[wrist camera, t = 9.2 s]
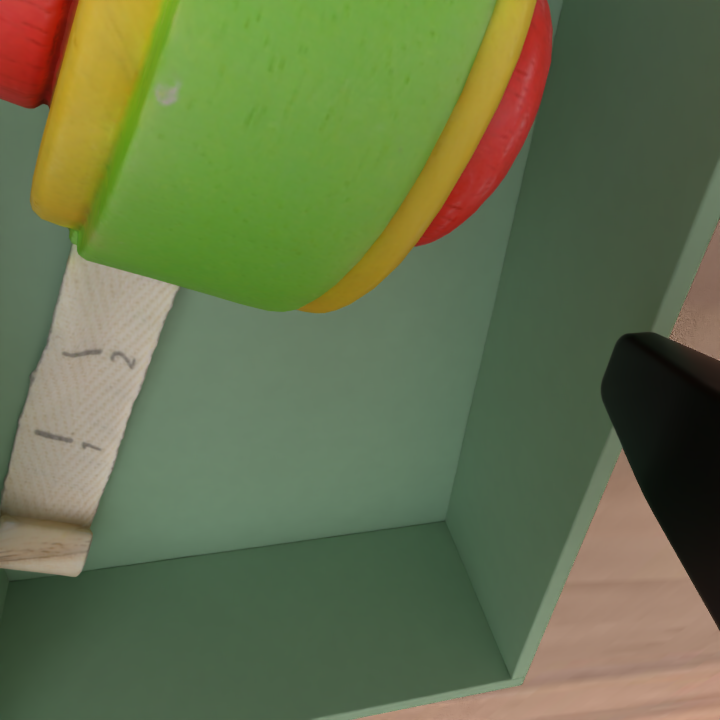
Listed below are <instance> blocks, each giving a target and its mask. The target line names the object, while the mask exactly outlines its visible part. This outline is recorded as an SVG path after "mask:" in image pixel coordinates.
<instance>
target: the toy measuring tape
mask: <svg viewBox="0 0 720 720" xmlns="http://www.w3.org/2000/svg"><path fill="white" fill-rule="evenodd" d="M552 35H553V27H552V21H551V15H550V8H549V5H548V2H547V0H0V99H2V100H5V101H8V102H10V103H13V104H16V105H19V106H21V107H24V108H29V109H35V108H36V107H38V106H40V105H42V104H45V105H48V107H49V109H50V111H49V114H48V118H47V122H46V125H45V129H44V133H43V137H42V140H41V144H40V148H39V153H38V157H37V162H36V166H35V170H34V175H33V179H32V187H31V195H30V203H31V207H32V210H33V211H34V212H35V213H36V214H37V215H38V216H39V217H40V218H41V219H43V220H46V221H48V222H51V223H54V224H56V225H59V226H63V227H66V228H68V229H69V239H70V241H71V243H72V245H71V248H70V253H69V256H68V260H67V264H66V269H65V273H64V274H63V280H62V283H61V286H60V289H59V295H58V299H57V303H56V305H55V308H54V312H53V317H52V323H51V326H50V330H49V334H48V338H47V345H46V347H45V348H44V350H43V352H42V355H41V358H40V360H39V362H38V364H37V368H36V369H35V370H34V371H33V372H32V373H31V375H30V376H29V379H30V385H29V390H28V394H27V398H26V401H25V404H24V407H23V411H22V413H21V415H20V417H19V420H18V427H17V430H16V434H15V438H14V443H13V448H12V452H11V458H10V462H9V465H8V473H7V475H6V477H5V478H4V488H3V489H2V491H1V495H2V496H1V504H0V568H5V569H13V570H21V571H30V572H39V573H47V574H55V575H63V576H70V577H77V576H78V575H79V574H80V573H81V571H82V569H83V567H84V565H85V562H86V559H87V556H88V553H89V549H90V546H91V543H92V537H93V533H92V531H91V530H90V526H91V524H92V521H93V519H94V516H95V514H96V512H97V509H98V506H99V502H100V498H101V496H102V494H103V492H104V490H105V487H106V484H107V482H108V480H109V477H110V475H111V473H112V471H113V468H114V465H115V462H116V458H117V455H118V448H119V446H120V443H121V440H122V439H123V438H124V433H125V430H126V426H127V422H128V420H129V417H130V415H131V411H132V407H133V404H134V401H135V400H136V398H137V396H138V394H139V392H140V390H141V387H142V384H143V382H144V379H145V377H146V374H147V370H148V367H149V364H150V362H151V359H152V355H153V352H154V350H155V349H156V347H157V344H158V341H159V337H160V333H161V331H162V328H163V326H164V323H165V320H166V318H167V315H168V313H169V311H170V310H171V308H172V307H173V303H174V299H175V296H176V294H177V292H178V291H179V290H180V288H181V287H184V288H187V289H191V290H194V291H198V292H201V293H205V294H208V295H211V296H215V297H218V298H222V299H225V300H228V301H232V302H235V303H238V304H242V305H246V306H250V307H254V308H258V309H262V310H266V311H275V312H286V311H292V310H299V311H303V312H309V313H327V312H331V311H335V310H338V309H340V308H343V307H345V306H348V305H350V304H351V303H353V302H355V301H356V300H358V299H359V298H361V297H362V296H364V295H365V294H367V293H368V292H370V291H371V290H373V289H374V288H375V287H376V286H377V285H378V284H380V283H381V282H382V281H383V280H384V279H385V278H386V277H387V276H388V275H389V274H390V273H391V272H392V271H393V270H394V269H395V268H396V267H397V266H398V265H399V264H400V263H401V262H402V261H403V260H404V258H405V257H406V256H407V255H408V253H409V252H410V251H411V250H412V248H413V247H417V246H421V245H426V244H429V243H431V242H434V241H436V240H438V239H440V238H442V237H443V236H445V235H447V234H449V233H450V232H452V231H453V230H454V229H455V228H457V227H458V226H459V225H461V224H462V223H463V222H464V221H466V220H467V219H468V218H469V217H470V216H471V215H472V214H474V213H475V212H476V211H477V210H478V209H479V207H480V206H481V205H482V204H483V203H484V202H485V200H486V199H487V198H488V197H489V196H490V195H491V194H492V193H493V192H494V191H495V190H496V188H497V187H498V186H499V184H500V183H501V182H502V180H503V179H504V178H505V176H506V175H507V173H508V171H509V170H510V168H511V166H512V164H513V162H514V161H515V159H516V157H517V155H518V154H519V152H520V150H521V148H522V146H523V144H524V142H525V140H526V138H527V136H528V133H529V131H530V129H531V127H532V124H533V122H534V120H535V117H536V114H537V112H538V109H539V106H540V104H541V100H542V96H543V92H544V88H545V84H546V80H547V76H548V72H549V68H550V64H551V55H552Z"/></svg>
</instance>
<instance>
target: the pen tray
mask: <svg viewBox="0 0 720 720" xmlns="http://www.w3.org/2000/svg"><path fill="white" fill-rule="evenodd" d="M547 2H548V5H549V8H550V15H551V21H552V27H553V35H552V55H551V64H550V68H549V72H548V76H547V80H546V84H545V88H544V92H543V96H542V100H541V104H540V106H539V109H538V112H537V114H536V117H535V120H534V122H533V124H532V127H531V129H530V131H529V133H528V136H527V138H526V140H525V142H524V144H523V146H522V148H521V150H520V152H519V154H518V155H517V157H516V159H515V161H514V162H513V164H512V166H511V168H510V170H509V171H508V173H507V175H506V176H505V178H504V179H503V180H502V182H501V183H500V184H499V186H498V187H497V188H496V190H495V191H494V192H493V193H492V194H491V195H490V196H489V197H488V198H487V199H486V200H485V202H484V203H483V204H482V205H481V206H480V207H479V209H478V210H477V211H476V212H475V213H474V214H472V215H471V216H470V217H469V218H468V219H467V220H466V221H464V222H463V223H462V224H461V225H459V226H458V227H457V228H455V229H454V230H453V231H452V232H450V233H449V234H447V235H445V236H443V237H442V238H440V239H438V240H436V241H434V242H431V243H429V244H426V245H421V246H417V247H413V248H412V250H411V251H410V252H409V253H408V255H407V256H406V257H405V258H404V260H403V261H402V262H401V263H400V264H399V265H398V266H397V267H396V268H395V269H394V270H393V271H392V272H391V273H390V274H389V275H388V276H387V277H386V278H385V279H384V280H383V281H382V282H381V283H380V284H378V285H377V286H376V287H375V288H374V289H373V290H371V291H370V292H368V293H367V294H365V295H364V296H362V297H361V298H359V299H358V300H356V301H355V302H353V303H351V304H350V305H348V306H345V307H343V308H340V309H338V310H335V311H331V312H327V313H309V312H303V311H299V310H292V311H286V312H275V311H266V310H262V309H258V308H254V307H250V306H246V305H242V304H238V303H235V302H232V301H228V300H225V299H222V298H218V297H215V296H211V295H208V294H205V293H201V292H198V291H194V290H191V289H187V288H184V287H181V288H180V290H179V291H178V292H177V294H176V296H175V299H174V303H173V307H172V308H171V310H170V311H169V313H168V315H167V318H166V320H165V323H164V326H163V328H162V331H161V333H160V337H159V341H158V344H157V347H156V349H155V350H154V352H153V355H152V359H151V362H150V364H149V367H148V370H147V374H146V377H145V379H144V382H143V384H142V387H141V390H140V392H139V394H138V396H137V398H136V400H135V401H134V404H133V407H132V411H131V415H130V417H129V420H128V422H127V426H126V430H125V433H124V438H123V439H122V440H121V443H120V446H119V448H118V455H117V458H116V462H115V465H114V468H113V471H112V473H111V475H110V477H109V480H108V482H107V484H106V487H105V490H104V492H103V494H102V496H101V498H100V502H99V506H98V509H97V512H96V514H95V516H94V519H93V521H92V524H91V526H90V530H91V531H92V533H93V537H92V543H91V546H90V549H89V553H88V556H87V559H86V562H85V565H84V567H83V569H82V571H81V573H80V574H79V575H78V576H77V577H70V576H63V575H55V574H47V573H39V572H30V571H21V570H13V569H5V568H0V720H352V719H357V718H362V717H367V716H372V715H377V714H382V713H386V712H391V711H396V710H401V709H406V708H411V707H416V706H421V705H426V704H431V703H436V702H440V701H445V700H450V699H455V698H460V697H465V696H470V695H475V694H480V693H485V692H490V691H494V690H499V689H504V688H509V687H514V686H519V685H522V684H523V681H524V679H525V676H526V674H527V672H528V670H529V667H530V665H531V662H532V660H533V658H534V655H535V653H536V651H537V648H538V646H539V644H540V641H541V639H542V636H543V634H544V632H545V629H546V627H547V625H548V622H549V620H550V618H551V615H552V613H553V610H554V608H555V606H556V603H557V601H558V599H559V596H560V594H561V592H562V589H563V587H564V584H565V582H566V580H567V577H568V575H569V573H570V570H571V568H572V566H573V563H574V561H575V558H576V556H577V554H578V551H579V549H580V547H581V544H582V542H583V540H584V537H585V535H586V532H587V530H588V528H589V525H590V523H591V521H592V518H593V516H594V514H595V511H596V509H597V506H598V504H599V502H600V499H601V497H602V495H603V492H604V490H605V488H606V485H607V483H608V480H609V478H610V476H611V473H612V471H613V469H614V466H615V464H616V462H617V459H618V457H619V454H620V452H621V450H622V445H621V443H620V441H619V438H618V436H617V434H616V431H615V429H614V427H613V424H612V422H611V420H610V418H609V415H608V413H607V411H606V408H605V406H604V404H603V401H602V397H601V389H600V388H601V382H602V378H603V376H604V373H605V370H606V368H607V365H608V362H609V359H610V357H611V354H612V351H613V349H614V346H615V343H616V341H617V340H618V339H619V338H620V337H621V336H622V335H624V334H626V333H638V332H654V333H657V334H659V335H661V336H664V337H666V338H668V339H669V336H670V334H671V332H672V329H673V327H674V324H675V322H676V320H677V317H678V315H679V313H680V310H681V308H682V306H683V303H684V301H685V299H686V296H687V294H688V291H689V289H690V287H691V284H692V282H693V280H694V277H695V275H696V273H697V270H698V268H699V265H700V263H701V261H702V258H703V256H704V254H705V251H706V249H707V247H708V244H709V242H710V239H711V237H712V235H713V232H714V230H715V228H716V225H717V223H718V221H719V218H720V0H547ZM49 111H50V109H49V107H48V105H45V104H42V105H40V106H38V107H36V108H35V109H29V108H24V107H21V106H19V105H16V104H13V103H10V102H8V101H5V100H2V99H0V504H1V496H2V495H1V491H2V489H3V488H4V478H5V477H6V475H7V473H8V465H9V462H10V458H11V452H12V448H13V443H14V438H15V434H16V430H17V427H18V420H19V417H20V415H21V413H22V411H23V407H24V404H25V401H26V398H27V394H28V390H29V385H30V379H29V376H30V375H31V373H32V372H33V371H34V370H35V369H36V368H37V364H38V362H39V360H40V358H41V355H42V352H43V350H44V348H45V347H46V345H47V338H48V334H49V330H50V326H51V323H52V317H53V312H54V308H55V305H56V303H57V299H58V295H59V289H60V286H61V283H62V280H63V274H64V273H65V269H66V264H67V260H68V256H69V253H70V248H71V245H72V243H71V241H70V239H69V229H68V228H66V227H63V226H59V225H56V224H54V223H51V222H48V221H46V220H43V219H41V218H40V217H39V216H38V215H37V214H36V213H35V212H34V211H33V210H32V207H31V203H30V195H31V187H32V179H33V175H34V170H35V166H36V162H37V157H38V153H39V148H40V144H41V140H42V137H43V133H44V129H45V125H46V122H47V118H48V114H49Z"/></svg>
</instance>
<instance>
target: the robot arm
mask: <svg viewBox="0 0 720 720" xmlns="http://www.w3.org/2000/svg"><path fill="white" fill-rule="evenodd" d="M600 389H601V397H602V401H603V404H604V406H605V408H606V411H607V413H608V415H609V418H610V420H611V422H612V424H613V427H614V429H615V431H616V434H617V436H618V438H619V441H620V443H621V445H622V447H623V450H624V452H625V454H626V457H627V459H628V461H629V464H630V466H631V468H632V470H633V473H634V475H635V477H636V480H637V482H638V484H639V486H640V488H641V490H642V492H643V495H644V497H645V499H646V500H647V502H648V504H649V506H650V508H651V510H652V512H653V513H654V515H655V517H656V519H657V521H658V522H659V524H660V526H661V528H662V529H663V531H664V533H665V535H666V537H667V538H668V540H669V542H670V544H671V545H672V547H673V549H674V551H675V552H676V554H677V556H678V558H679V560H680V561H681V563H682V565H683V567H684V568H685V570H686V572H687V574H688V575H689V577H690V579H691V581H692V583H693V584H694V586H695V588H696V590H697V591H698V593H699V595H700V597H701V598H702V600H703V602H704V604H705V606H706V607H707V609H708V611H709V613H710V614H711V616H712V618H713V620H714V621H715V623H716V625H717V627H718V629H719V630H720V361H718V360H716V359H714V358H712V357H709V356H707V355H705V354H702V353H700V352H698V351H696V350H693V349H691V348H689V347H687V346H684V345H682V344H680V343H677V342H675V341H673V340H671V339H668V338H666V337H664V336H661V335H659V334H657V333H654V332H638V333H626V334H624V335H622V336H621V337H620V338H619V339H618V340H617V341H616V343H615V346H614V349H613V351H612V354H611V357H610V359H609V362H608V365H607V368H606V370H605V373H604V376H603V378H602V382H601V388H600Z"/></svg>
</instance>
